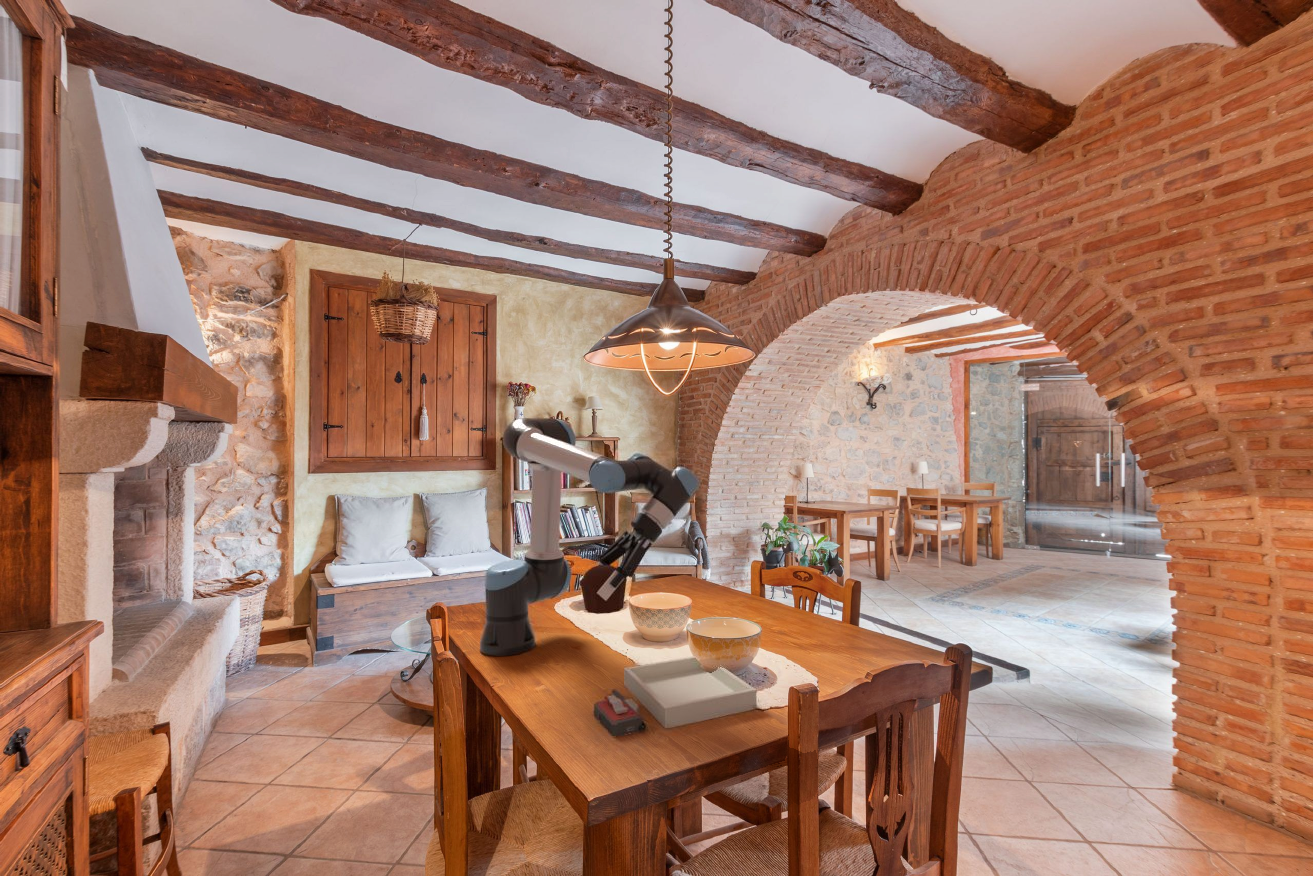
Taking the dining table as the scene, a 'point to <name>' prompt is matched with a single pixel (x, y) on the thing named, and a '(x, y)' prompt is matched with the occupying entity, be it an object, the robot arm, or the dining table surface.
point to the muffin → (592, 585)
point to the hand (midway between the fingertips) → (593, 591)
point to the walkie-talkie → (619, 715)
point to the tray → (688, 691)
